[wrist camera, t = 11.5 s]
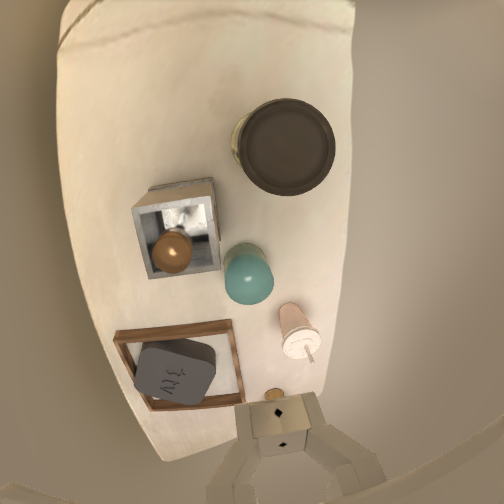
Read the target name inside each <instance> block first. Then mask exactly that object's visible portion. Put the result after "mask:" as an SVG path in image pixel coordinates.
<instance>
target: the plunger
mask: <svg viewBox="0 0 504 504" xmlns="http://www.w3.org/2000/svg"><path fill="white" fill-rule="evenodd" d="M162 215H163V221H164V226H165V230H164V231H163V232H162V233H161V234H160V236H159V238H158V240H157V242H156V244H155V246H154V248H153V252H152V256H153V261H154V263H155V264H156V266H157V267H158V268H159V269H160V270H162V271H164V272H166V273H170V274H176V273H180V272H182V271H184V270H185V269H186V268H187V267H188V266H189V264H190V262H191V257H192V251H193V240H192V238H191V237H192V236H199V235H206V234H208V229H207V222H206V216H205V209H204V204H199V205H193V206H186V207H179V208H173V209H167V210H162Z"/></svg>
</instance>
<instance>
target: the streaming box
mask: <svg viewBox="0 0 504 504" xmlns="http://www.w3.org/2000/svg"><path fill="white" fill-rule="evenodd" d="M215 374H216V360H215V351H214V350H213V348H212V347H210V346H208V345H206V344H202V343H198V342H195V341H191V340H187V339H184V338H182V339H171V340H160V341H148V342H143V346H142V350H141V353H140V358H139V362H138V366H137V371H136V375H135V380H134V386H135V388H136V389H137V390H138V391H139V392H141V393H142V394H145V395H149V396H152V397H156V398H160V399H164V400H168V401H172V402H176V403H180V404H185V405H195V404H198V403H200V402H201V401H202V400H203V398H204V396H205V394H206V392H207V390H208V388H209V386H210V384H211V382H212V380H213V378H214V376H215Z"/></svg>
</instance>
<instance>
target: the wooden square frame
mask: <svg viewBox="0 0 504 504" xmlns="http://www.w3.org/2000/svg"><path fill="white" fill-rule="evenodd" d="M225 333H228V335H229V340H230V345H231V350H232V355H233V360H234V365H235V370H236V375H237V380H238V385H239V390H240V393H234V394H226V395H217V396H207V397H204V398H203V400H202V401H201V402H200V403H198V404H195V405H185V404H180V403H176V402H172V401H168V400H164V399H163V400H153V398H152V396H149V395H145V394H142V393H141V392H139V393H140V395H141V397H142V399H143V400H144V402H145V404H146V406H147V407H148V409H149V411H178V410H194V409H206V408H217V407H226V406H234V405H235V404H241V403H246V399H245V393H244V388H243V383H242V377H241V372H240V367H239V361H238V356H237V350H236V345H235V339H234V333H233V327H232V322H231V319H226V320H218V321H210V322H202V323H194V324H185V325H176V326H166V327H156V328H145V329H133V330H120V331H116V333H115V336H114V339H113V342H114V344H115V346H116V348H117V351H118V353H119V355H120V357H121V359H122V361H123V363H124V365H125V367H126V369H127V371H128V373H129V375H130V377H131V379H132V380H133V382H134V380H135V375H136V371H137V367H136V365H135V363H134V361H133V358H132V356H131V354H130V352H129V350H128V347H127V345H126V343H134V342H148V341H160V340H171V339H182V338H191V337H200V336H209V335H217V334H225Z"/></svg>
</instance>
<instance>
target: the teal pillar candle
mask: <svg viewBox="0 0 504 504" xmlns="http://www.w3.org/2000/svg"><path fill="white" fill-rule="evenodd" d="M224 276H225V288H226V291H227V294H228V295H229V297H230V298H231V299H232V300H234V301H235V302H237V303H240V304H244V305H252V304H256V303H259V302H261V301H263V300H264V299H266V298H267V297H268V296H269V295H270V293H271V292H272V289H273V286H274V278H273V275H272V273H271V270H270V267H269V265H268V262H267V260H266V257H265V255H264V253H263V252H262V250H261V249H260V248H258V247H257V246H255V245H252V244H239V245H236V246H234V247H233V248H231V249H230V250H229V251H228V252H227V254H226V256H225V258H224Z"/></svg>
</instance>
